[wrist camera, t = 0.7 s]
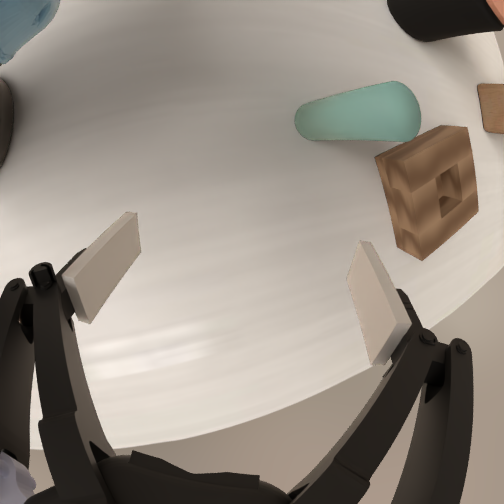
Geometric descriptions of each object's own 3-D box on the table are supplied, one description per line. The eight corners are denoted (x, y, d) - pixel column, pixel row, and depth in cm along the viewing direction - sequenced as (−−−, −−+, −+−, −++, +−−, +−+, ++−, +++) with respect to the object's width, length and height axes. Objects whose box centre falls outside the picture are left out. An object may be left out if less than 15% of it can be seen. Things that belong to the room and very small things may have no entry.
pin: (288, 110, 26) (368, 87, 13) (320, 98, 26) (408, 76, 14) (304, 146, 28) (390, 150, 15) (335, 132, 28) (427, 132, 15)
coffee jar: (438, 37, 25) (521, 27, 9) (410, 49, 26) (508, 33, 9) (406, -13, 21) (482, -39, 4) (371, -9, 21) (458, -48, 5)
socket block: (374, 157, 30) (403, 160, 25) (440, 125, 31) (467, 127, 26) (397, 247, 36) (422, 261, 31) (455, 203, 37) (478, 211, 32)
